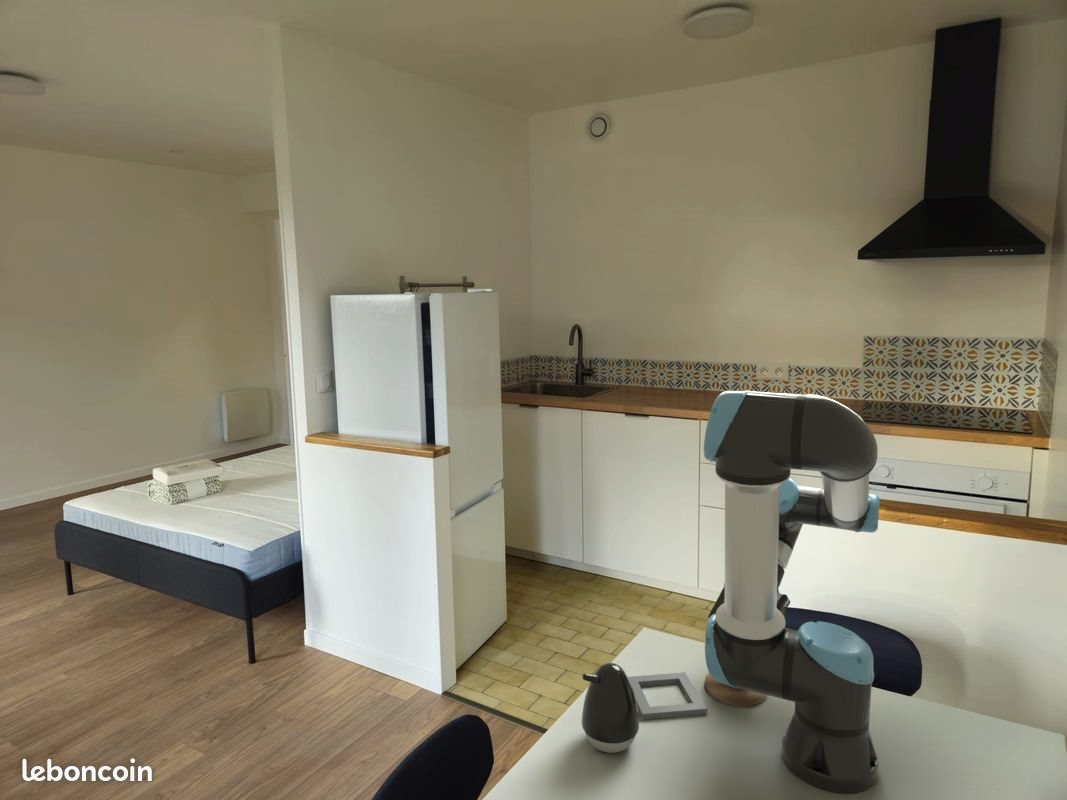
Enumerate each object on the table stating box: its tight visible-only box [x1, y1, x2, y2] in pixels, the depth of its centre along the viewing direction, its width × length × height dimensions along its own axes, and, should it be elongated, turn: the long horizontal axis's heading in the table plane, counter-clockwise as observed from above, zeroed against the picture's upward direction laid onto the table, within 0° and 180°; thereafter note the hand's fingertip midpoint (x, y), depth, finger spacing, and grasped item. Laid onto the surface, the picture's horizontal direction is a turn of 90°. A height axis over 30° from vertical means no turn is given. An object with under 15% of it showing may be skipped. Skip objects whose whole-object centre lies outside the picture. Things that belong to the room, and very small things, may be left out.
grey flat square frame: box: [628, 672, 708, 721], centre depth 138 cm, size 13×13×1 cm
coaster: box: [704, 672, 767, 708], centre depth 141 cm, size 12×12×1 cm
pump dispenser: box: [581, 662, 640, 754], centre depth 123 cm, size 10×10×15 cm
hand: (727, 665), depth 137 cm, fingers closed on supplement bottle, 7 cm apart
